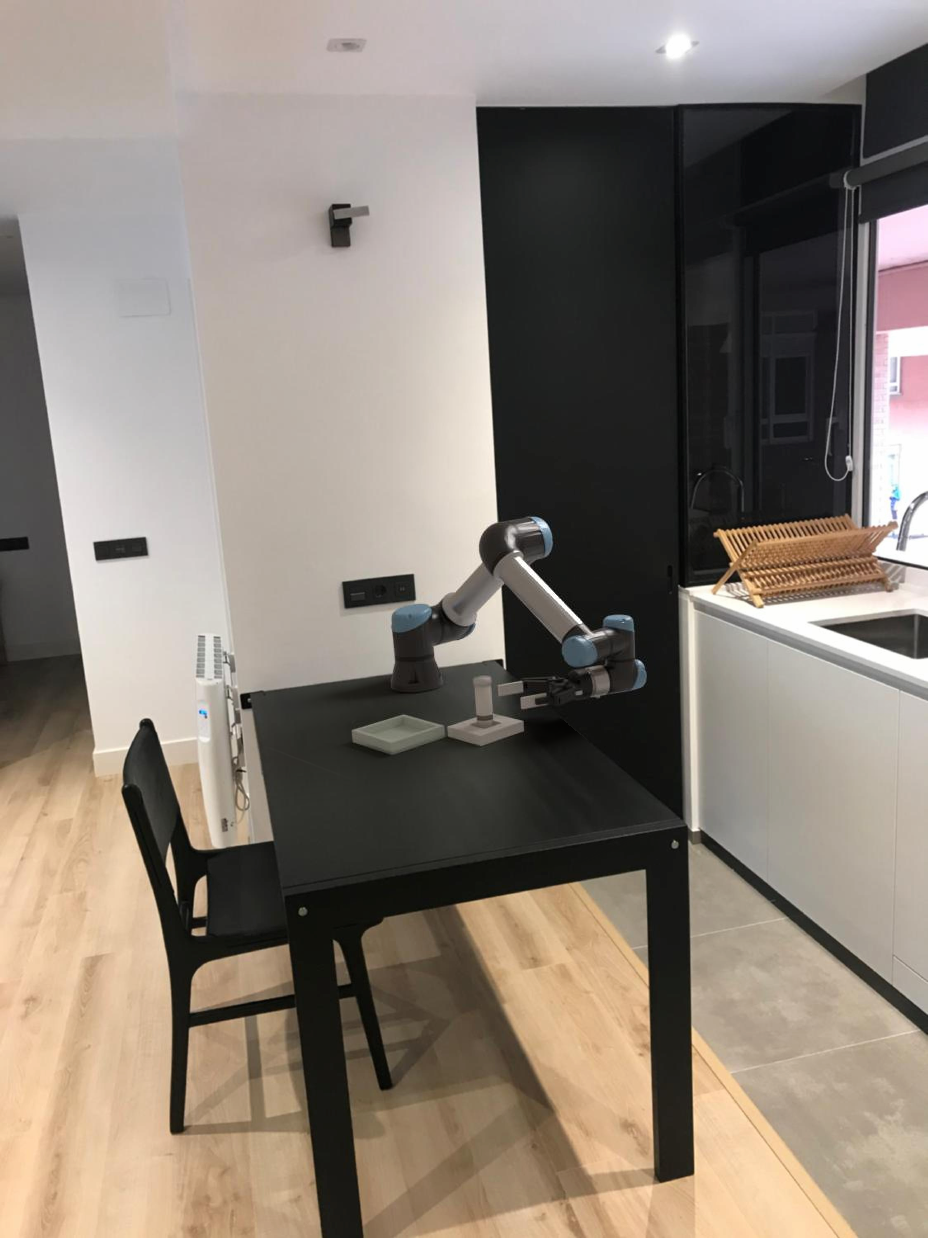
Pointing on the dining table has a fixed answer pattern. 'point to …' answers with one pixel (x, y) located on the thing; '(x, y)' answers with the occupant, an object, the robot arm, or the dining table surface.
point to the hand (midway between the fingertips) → (509, 696)
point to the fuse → (483, 701)
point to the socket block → (485, 730)
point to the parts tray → (398, 734)
